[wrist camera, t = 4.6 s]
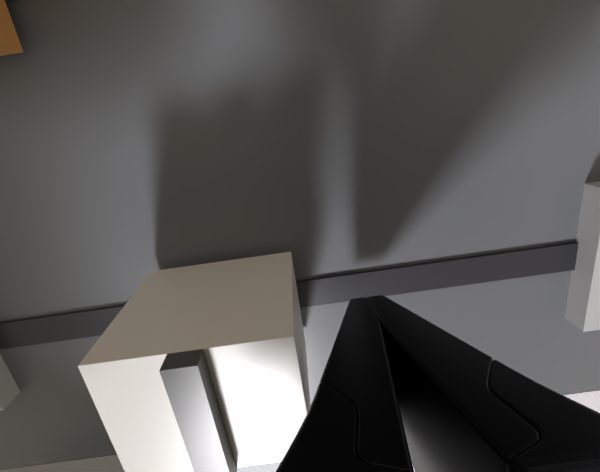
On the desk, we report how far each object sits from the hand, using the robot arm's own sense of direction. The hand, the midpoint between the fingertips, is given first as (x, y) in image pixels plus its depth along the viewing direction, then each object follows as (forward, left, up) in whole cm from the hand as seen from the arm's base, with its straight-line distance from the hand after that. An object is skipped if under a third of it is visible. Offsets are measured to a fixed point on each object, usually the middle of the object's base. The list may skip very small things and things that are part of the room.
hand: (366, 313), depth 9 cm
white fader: (0, +3, -1) cm, 4 cm away
